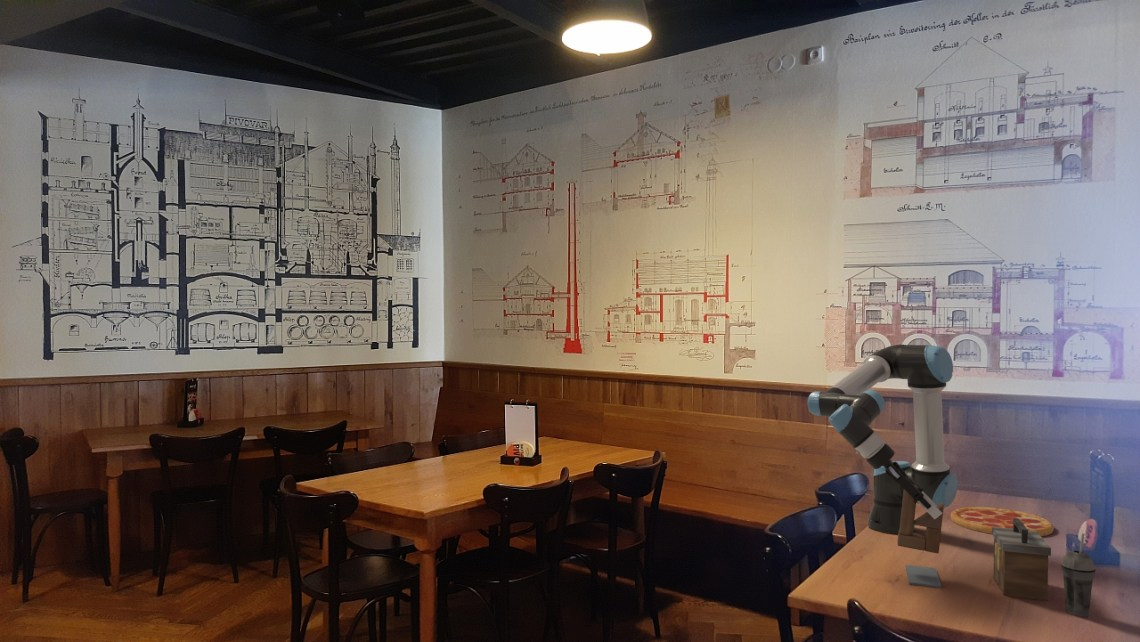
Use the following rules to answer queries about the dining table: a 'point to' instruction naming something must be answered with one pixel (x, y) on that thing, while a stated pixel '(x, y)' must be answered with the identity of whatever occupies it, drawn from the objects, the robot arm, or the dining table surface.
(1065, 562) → the beverage cup
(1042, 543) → the toolbox
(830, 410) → the robot arm
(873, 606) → the dining table surface
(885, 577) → the dining table surface
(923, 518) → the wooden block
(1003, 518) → the pizza
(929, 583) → the mat
